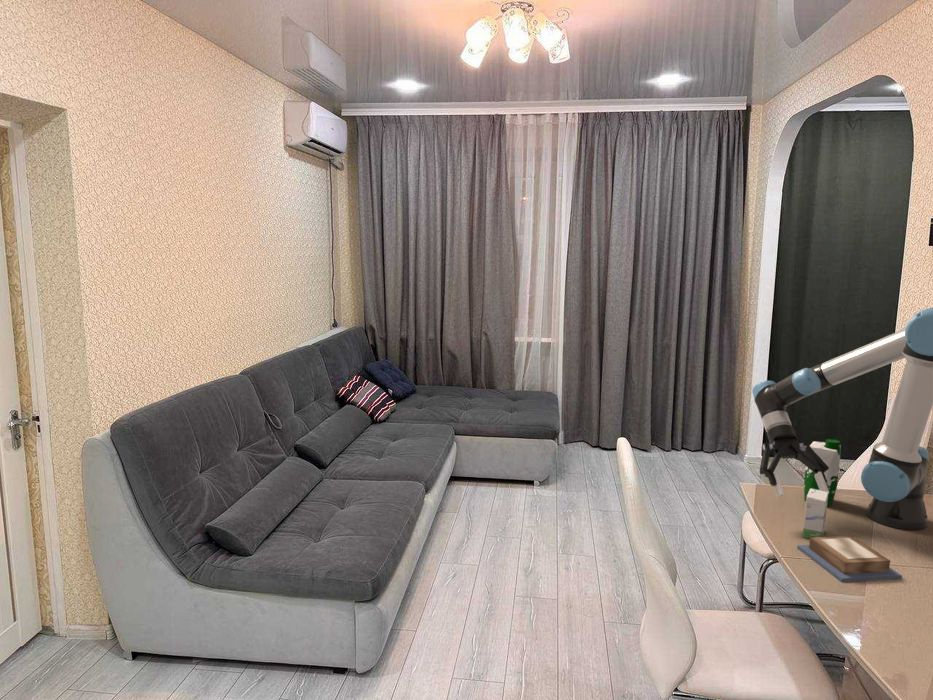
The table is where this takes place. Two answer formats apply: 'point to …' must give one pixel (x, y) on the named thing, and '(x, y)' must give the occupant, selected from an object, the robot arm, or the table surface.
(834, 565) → the walnut plinth
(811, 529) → the ink box
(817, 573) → the table surface
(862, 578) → the board
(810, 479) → the milk carton
